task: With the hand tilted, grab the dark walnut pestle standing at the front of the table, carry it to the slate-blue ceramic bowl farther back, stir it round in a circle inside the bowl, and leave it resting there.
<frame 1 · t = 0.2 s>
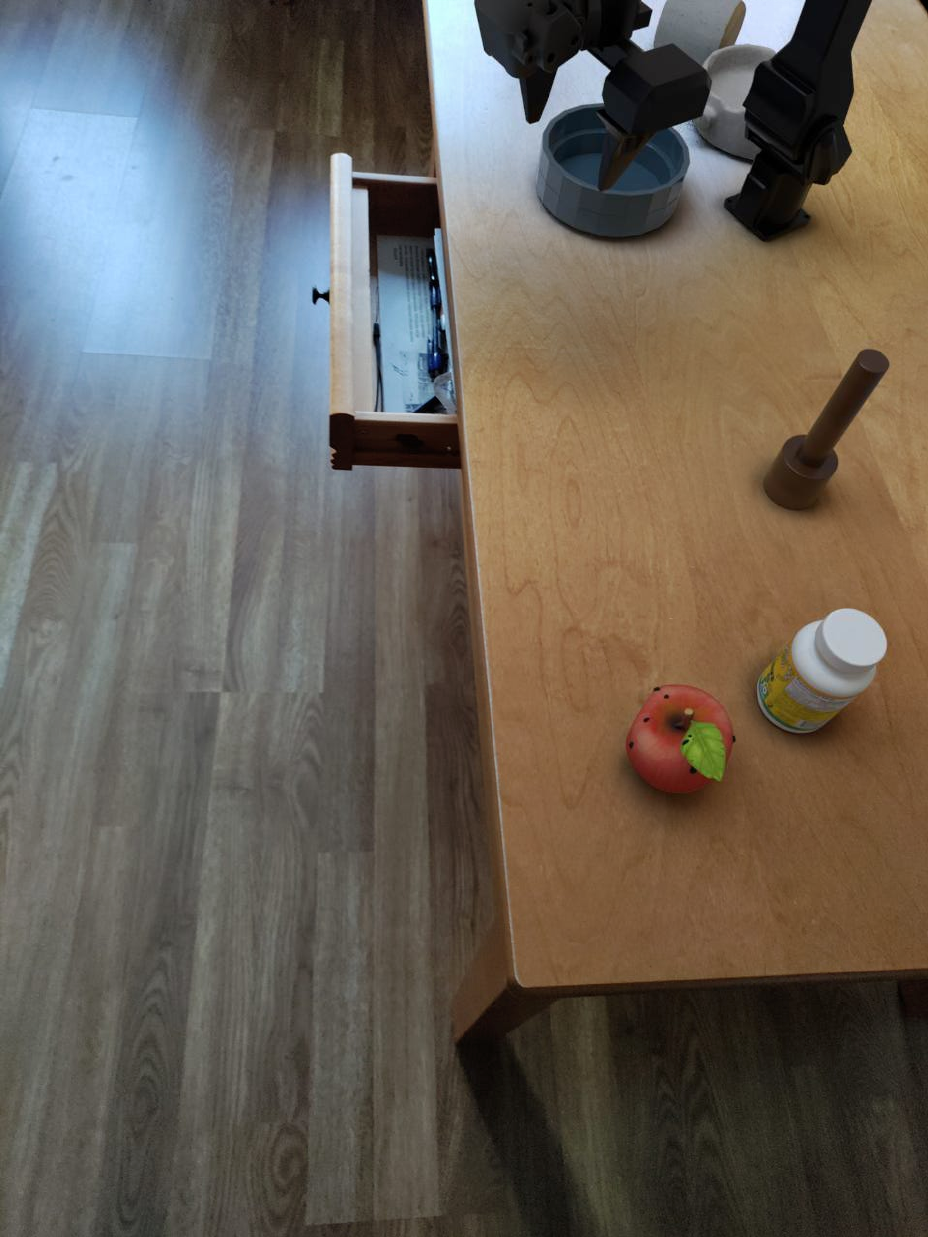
hand: (567, 154, 65), 15 cm above the table, tool pointing down, fingers open, 9 cm apart
bowl: (605, 194, 86), on the table
supplement bottle: (790, 700, 61), on the table
apple: (662, 766, 58), on the table
pestle: (789, 487, 70), on the table
dish: (745, 129, 94), on the table
ceramic mug: (691, 55, 100), on the table
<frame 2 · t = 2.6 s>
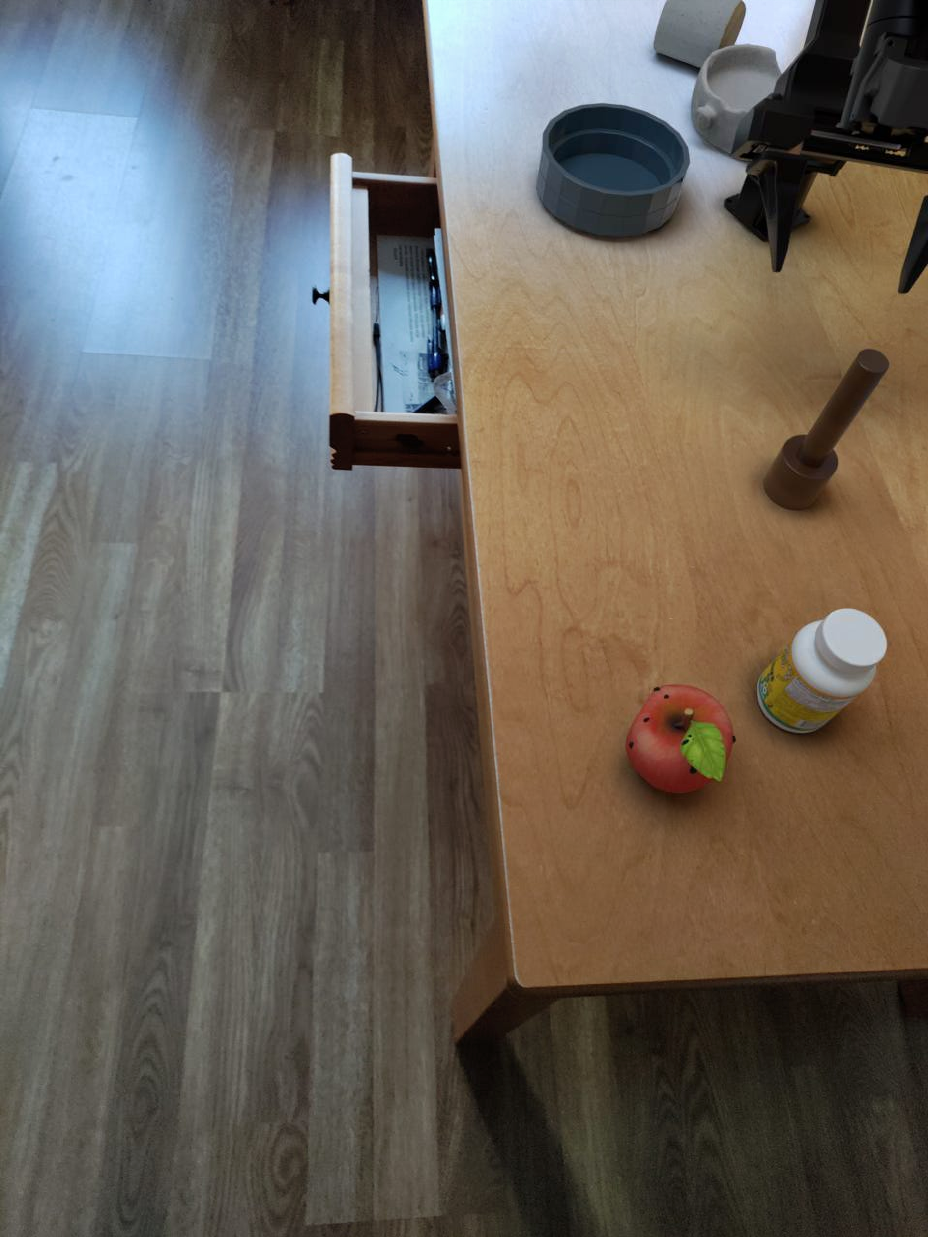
hand: (839, 282, 62), 13 cm above the table, tool tilted 40°, fingers open, 9 cm apart
nothing on the table moved.
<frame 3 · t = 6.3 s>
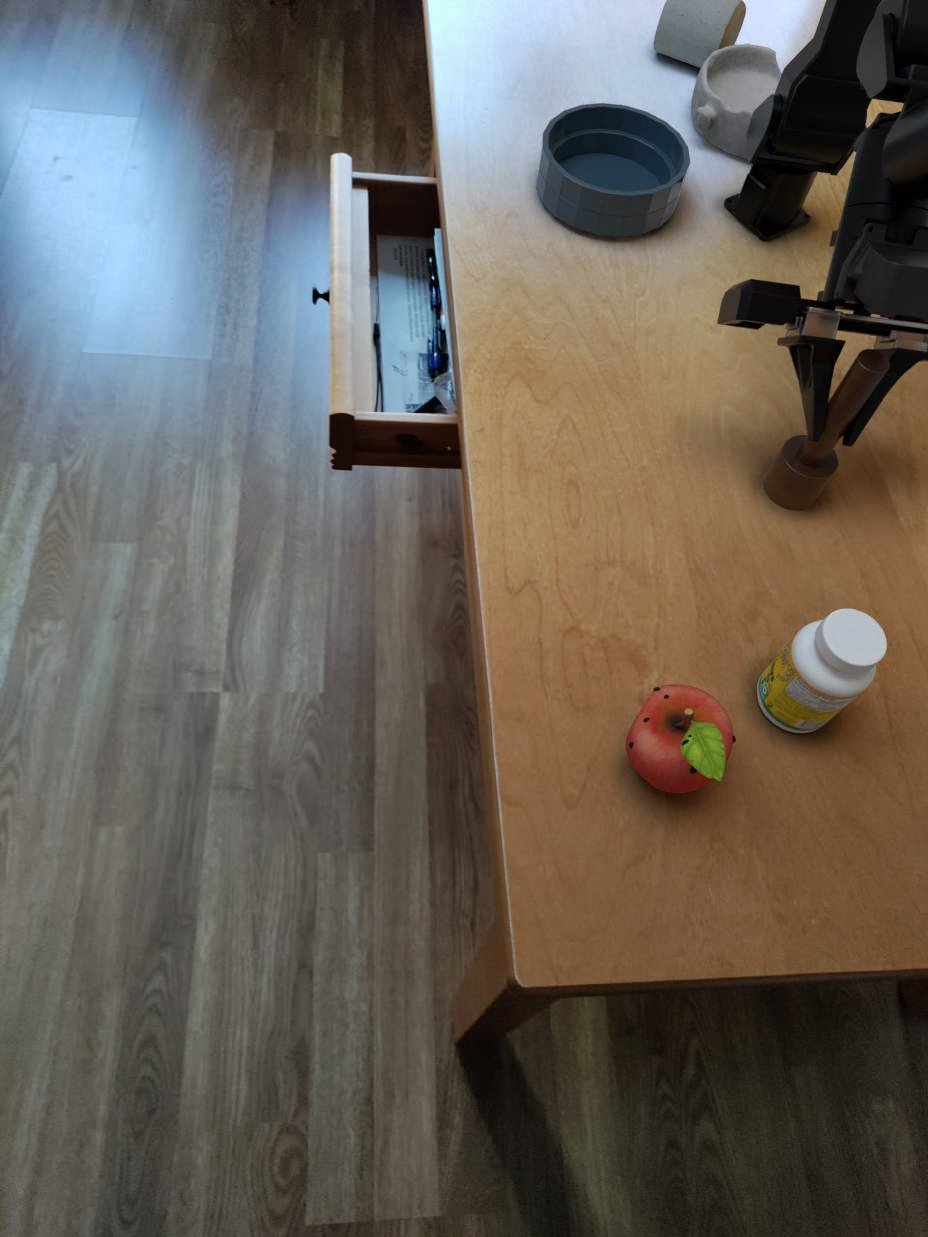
hand: (829, 443, 63), 7 cm above the table, tool tilted 45°, fingers closed on pestle, 2 cm apart
pestle: (789, 487, 70), on the table, touching gripper
everything else where it was.
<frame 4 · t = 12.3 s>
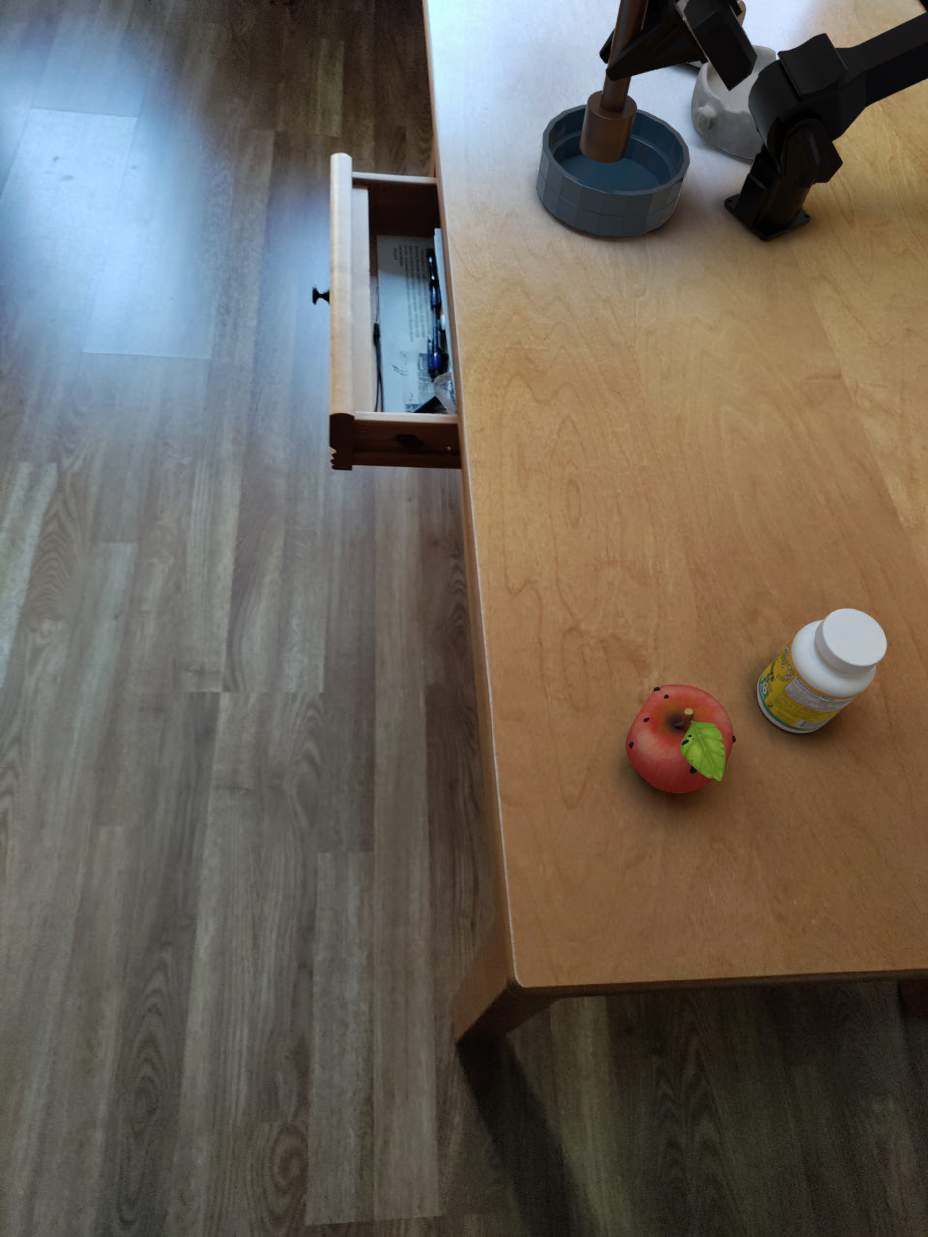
hand: (604, 67, 72), 14 cm above the table, tool tilted 45°, fingers closed on pestle, 2 cm apart
pestle: (603, 147, 78), point 7 cm above the table, touching gripper
everything else where it was.
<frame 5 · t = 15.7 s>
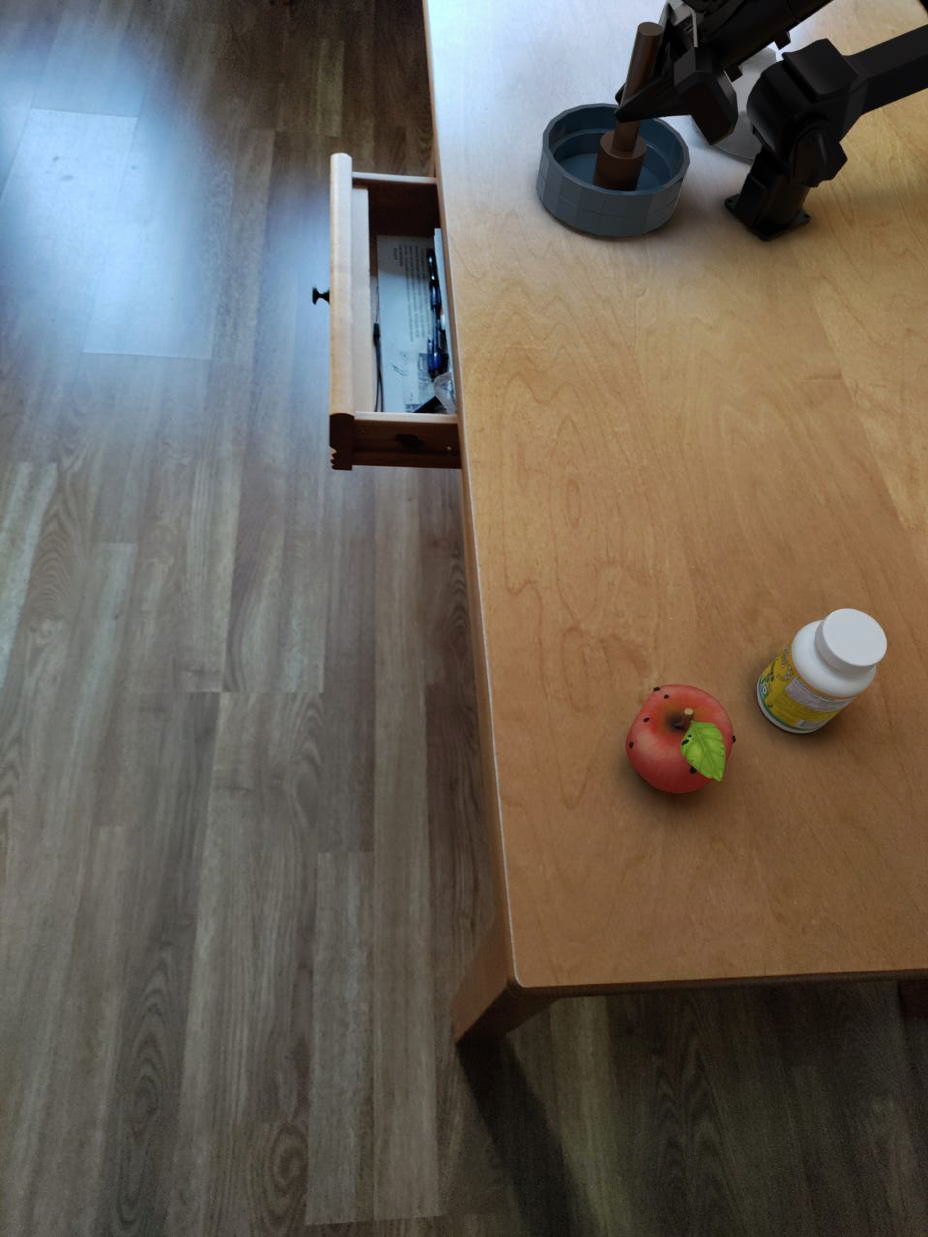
hand: (616, 109, 77), 9 cm above the table, tool tilted 45°, fingers closed on pestle, 2 cm apart
pestle: (614, 183, 84), point 2 cm above the table, touching gripper
everything else where it was.
when the fingers open (8 cm above the table, at t = 18.4 s): pestle stays where it is, resting on bowl.
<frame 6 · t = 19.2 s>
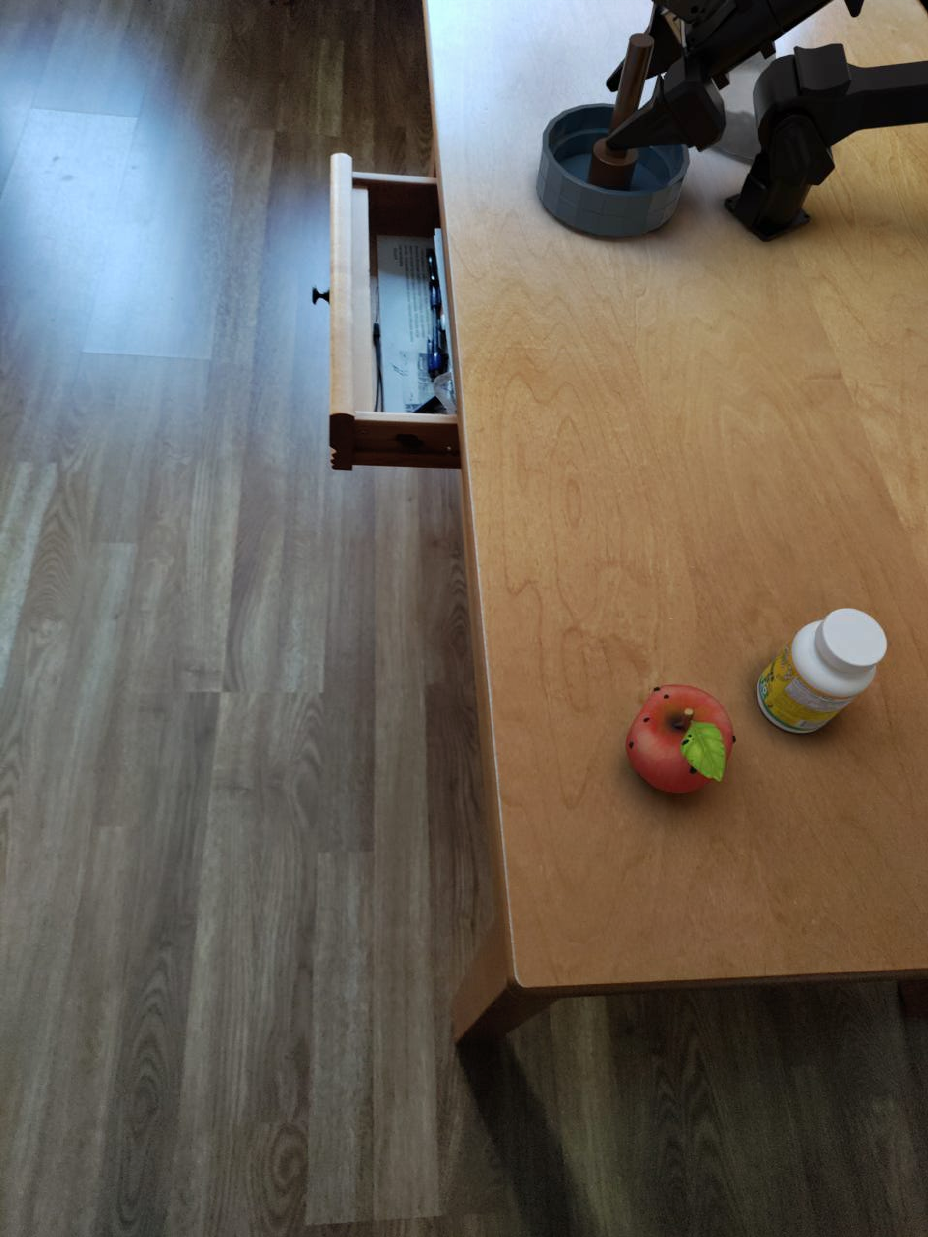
hand: (607, 115, 80), 8 cm above the table, tool tilted 45°, fingers open, 9 cm apart
pestle: (607, 188, 86), point 1 cm above the table, touching bowl
everything else where it was.
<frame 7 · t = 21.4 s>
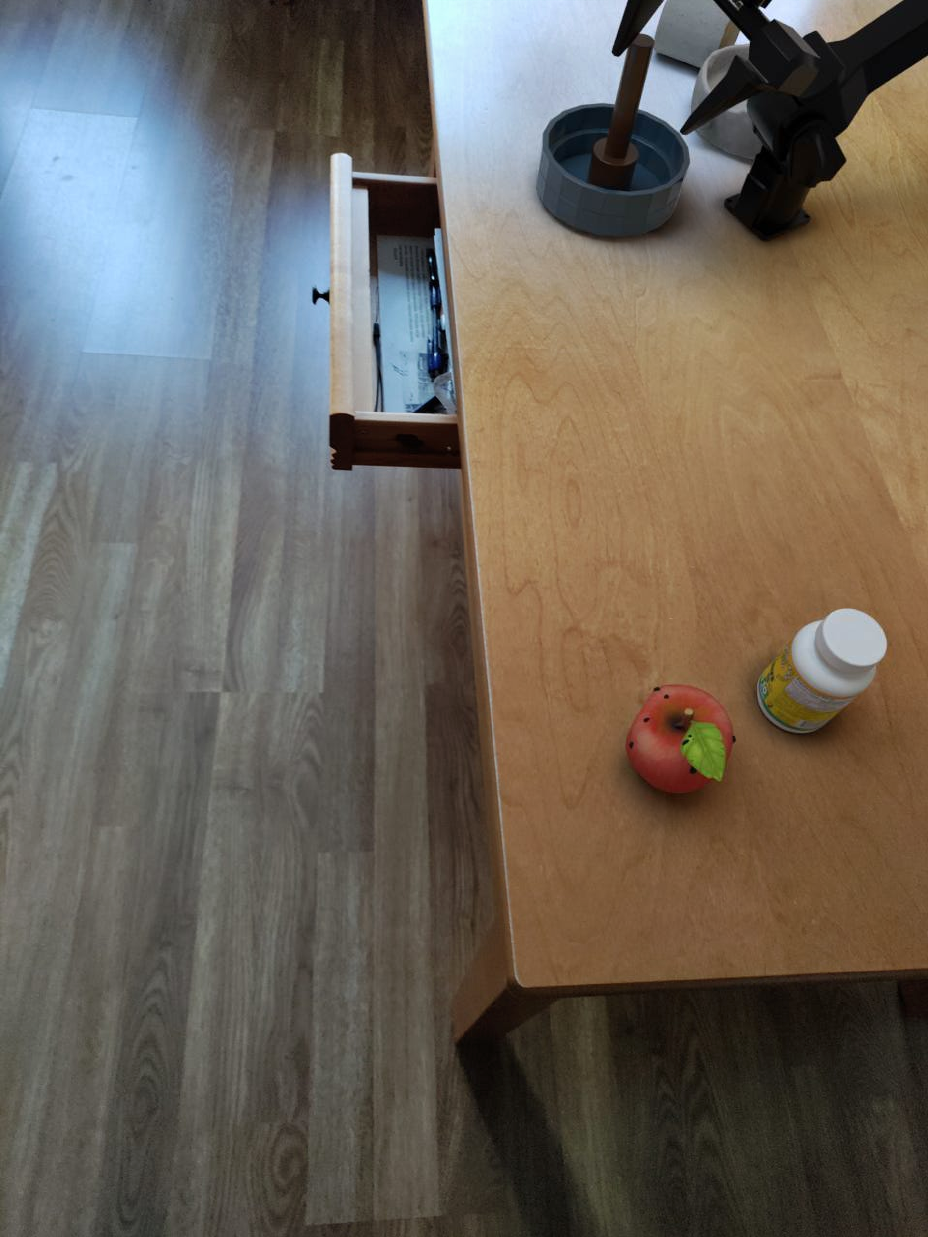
hand: (648, 93, 72), 13 cm above the table, tool tilted 30°, fingers open, 9 cm apart
nothing on the table moved.
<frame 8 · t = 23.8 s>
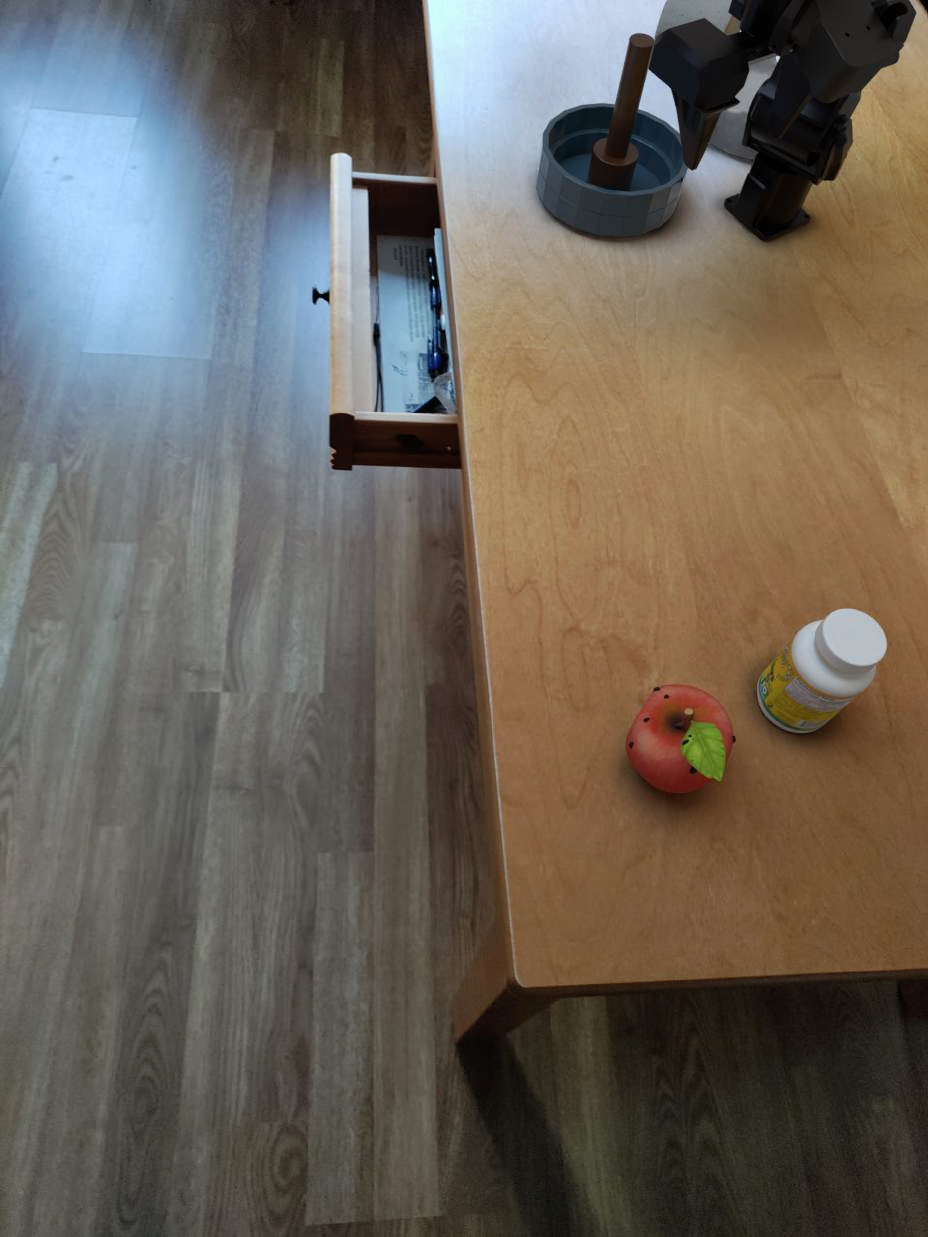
hand: (733, 151, 70), 13 cm above the table, tool pointing down, fingers open, 9 cm apart
nothing on the table moved.
at the end: pestle inside the target area in the bowl (0.1 cm from its centre), point 0.6 cm above the bowl's base; pestle moved 38.1 cm from its start; the gripper is holding nothing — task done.
